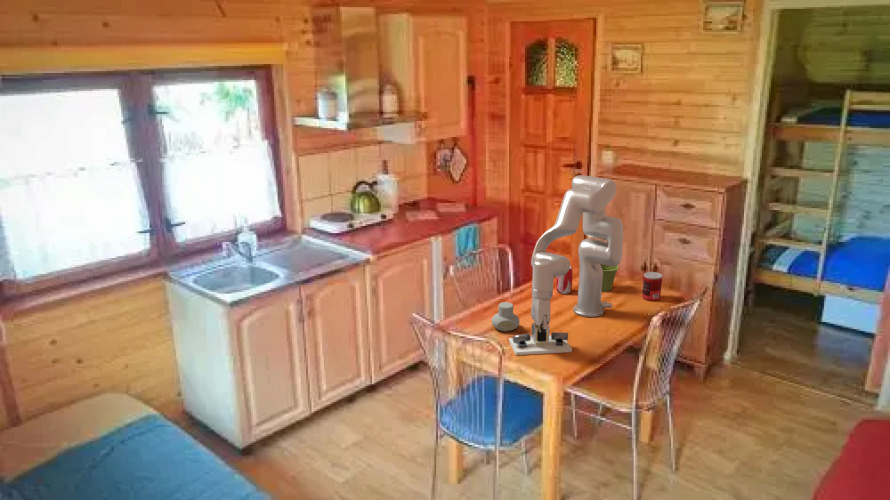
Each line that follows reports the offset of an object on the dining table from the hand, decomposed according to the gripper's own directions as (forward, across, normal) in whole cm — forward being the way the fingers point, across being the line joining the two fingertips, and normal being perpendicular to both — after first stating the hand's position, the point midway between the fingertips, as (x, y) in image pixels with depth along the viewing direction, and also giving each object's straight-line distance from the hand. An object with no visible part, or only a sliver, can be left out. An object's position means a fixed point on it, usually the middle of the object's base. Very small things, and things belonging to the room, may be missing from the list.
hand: (540, 337), depth 250 cm
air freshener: (+4, -18, -10) cm, 20 cm away
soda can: (+4, -52, +24) cm, 58 cm away
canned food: (+4, -40, +60) cm, 73 cm away
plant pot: (+4, -54, +44) cm, 69 cm away
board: (+4, 0, 0) cm, 4 cm away
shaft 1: (+2, +1, -7) cm, 8 cm away
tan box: (+1, 0, 0) cm, 1 cm away
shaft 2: (+2, +1, +7) cm, 8 cm away
